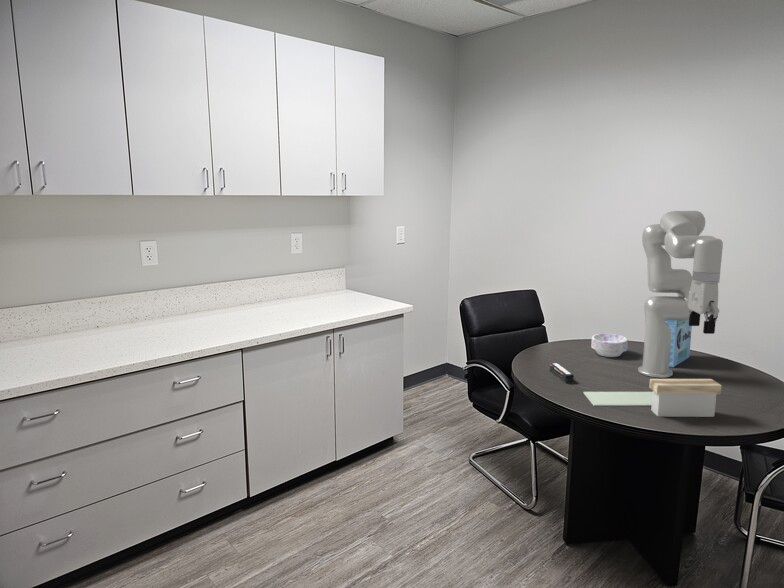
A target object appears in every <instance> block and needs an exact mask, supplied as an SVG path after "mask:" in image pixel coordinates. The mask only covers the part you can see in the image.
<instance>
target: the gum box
mask: <svg viewBox="0 0 784 588" xmlns="http://www.w3.org/2000/svg"><path fill="white" fill-rule="evenodd" d="M665 322H666V324H667V325H668V326H669V328H670V329H671V333H672V335H671V348H670V360H669V368H675V367H676V366H678V365H679V364H681V363H683V362H684V361H685V360H687V359H689V358H690V356H691V355H690V353H691V342H692V340H691V339H692V327H693V326H689V320H686V321H675V320H670V321H665Z"/></svg>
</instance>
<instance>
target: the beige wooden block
mask: <svg viewBox="0 0 784 588" xmlns="http://www.w3.org/2000/svg"><path fill="white" fill-rule="evenodd" d="M648 386H649V389H651V391H652V392H653V391H654V392H655V393H656V394H716V395H721V393H722V385H721V384H720V383H719V382H717V381H716V380H714V379H713V378H649V385H648Z"/></svg>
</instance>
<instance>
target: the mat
mask: <svg viewBox="0 0 784 588" xmlns="http://www.w3.org/2000/svg"><path fill="white" fill-rule="evenodd" d="M583 394H584V396H585V397H586V398H587V399H588V401H589V402H590V403H591V404H592V405H593V407H652V394H653V391H583Z"/></svg>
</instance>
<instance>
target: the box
mask: <svg viewBox="0 0 784 588" xmlns="http://www.w3.org/2000/svg"><path fill="white" fill-rule="evenodd" d="M652 392H653V394H652V406H650V407H651V409H650V410H651V412H652V413H653V414H655V416H656V417H678V418H679V417H681V418H682V417H686V418H687V417H690V418H691V417H693V418H695V417H696V418H697V417H704V418H705V417H707V418H708V417H709V418H710V417H715V415H716V414H715V413H716V403H717V402H716V401H717V394H656V393H655V392H654V391H653V390H652Z"/></svg>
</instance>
